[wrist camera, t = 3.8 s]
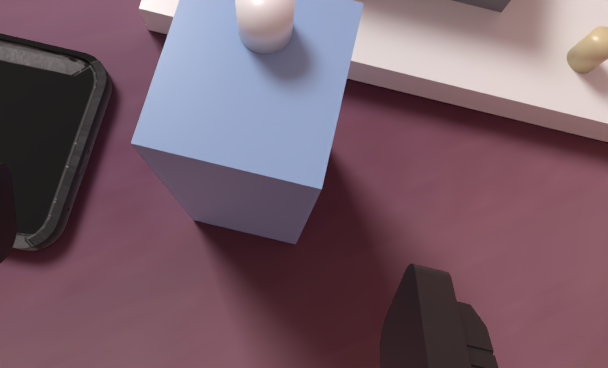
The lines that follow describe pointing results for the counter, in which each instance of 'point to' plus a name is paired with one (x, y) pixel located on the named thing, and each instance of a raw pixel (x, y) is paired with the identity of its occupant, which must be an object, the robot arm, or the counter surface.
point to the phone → (47, 131)
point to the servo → (248, 109)
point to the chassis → (481, 55)
